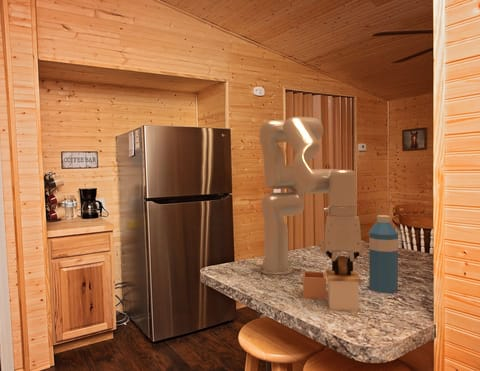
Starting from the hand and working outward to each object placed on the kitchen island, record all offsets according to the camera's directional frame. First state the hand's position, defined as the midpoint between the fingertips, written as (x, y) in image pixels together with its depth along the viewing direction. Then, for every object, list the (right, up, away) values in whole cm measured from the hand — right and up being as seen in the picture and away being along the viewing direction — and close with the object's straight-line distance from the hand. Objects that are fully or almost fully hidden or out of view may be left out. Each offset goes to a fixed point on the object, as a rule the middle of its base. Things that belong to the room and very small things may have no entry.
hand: (342, 272), depth 109 cm
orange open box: (-6, -10, +10) cm, 15 cm away
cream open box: (0, -10, 0) cm, 10 cm away
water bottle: (+18, -9, +15) cm, 25 cm away
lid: (0, -1, 0) cm, 1 cm away
